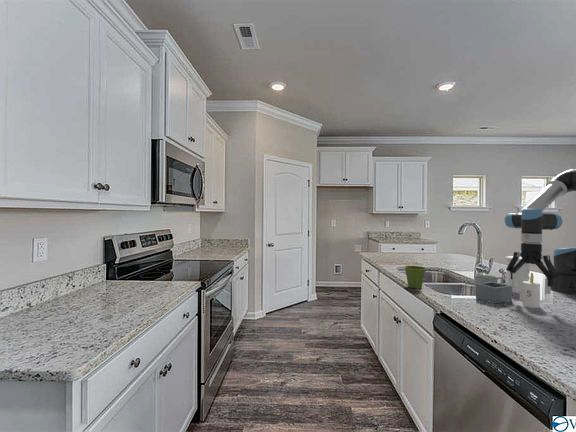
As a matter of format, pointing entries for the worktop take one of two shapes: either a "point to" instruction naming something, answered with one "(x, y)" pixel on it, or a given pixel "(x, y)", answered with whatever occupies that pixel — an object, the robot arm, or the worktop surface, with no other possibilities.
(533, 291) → the candle
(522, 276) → the decorative container
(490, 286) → the slate holder
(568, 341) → the worktop surface
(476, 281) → the teacup
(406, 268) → the plant pot
